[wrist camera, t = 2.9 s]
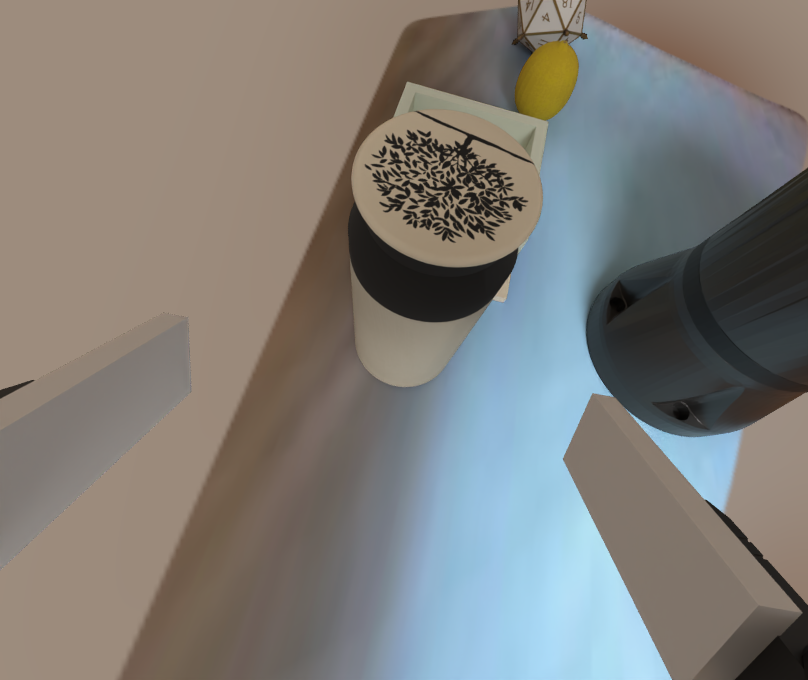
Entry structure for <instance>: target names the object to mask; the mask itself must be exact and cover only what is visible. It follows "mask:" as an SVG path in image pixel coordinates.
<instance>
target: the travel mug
mask: <svg viewBox="0 0 808 680" xmlns="http://www.w3.org/2000/svg"><path fill="white" fill-rule="evenodd" d="M351 181H352V190H353V196H354V199H355V203H354V204H353V207H352V210H351V213H350V217H349V223H348V236H349V252H350V268H351V283H352V299H353V315H354V330H355V344H356V350H357V353H358V356H359V358H360V360H361V362H362V364H363V365H364V367H365V368H366V369H367V370H368V371H369V372H370V373H371V374H372V375H373V376H374V377H376V378H377V379H379V380H380V381H382V382H384V383H387V384H390V385H393V386H399V387H412V386H418V385H421V384H424V383H426V382H428V381H430V380H432V379H433V378H435V377H436V376H437V375H438V374H440V372H441V371H442V370H443V369H444V368H445V366H446V365H447V363H448V362H449V361H450V359H451V358H452V356H453V355H454V354H455V352H456V351H457V349H458V348H459V346H460V345H461V344H462V342H463V341H464V339H465V338H466V337H467V335H468V334H469V332H470V331H471V329H472V328H473V327H474V325H475V324H476V322H477V321H478V319H479V318H480V317H481V315H482V314H483V312H484V311H485V310H486V308H487V307H488V305H489V304H490V302H491V301H492V300H493V298H494V297H495V295H496V294H497V292H498V291H499V290H500V288H501V287H502V285H503V284H504V283H505V281H506V280H507V278H508V277H509V275H510V274H511V272H512V270H513V268H514V265H515V263H516V259H517V255H518V247H519V246H520V245H522V244H523V243H524V242H525V241H526V239H527V238H528V237H529V236H530V234H531V233H532V231H533V230H534V228H535V226H536V224H537V222H538V220H539V217H540V214H541V209H542V202H543V191H542V184H541V180H540V176H539V174H538V171H537V169H536V167H535V165H534V163H533V161H532V159H531V158H530V156H529V155H528V153H527V152H526V151H525V149H524V148H523V147H522V146H521V145H520V144H519V143H518V142H517V141H516V140H515V139H514V138H513V137H512V136H510V135H509V134H508V133H507V132H505V131H504V130H502V129H501V128H499V127H498V126H496V125H494V124H493V123H491V122H489V121H486V120H484V119H482V118H479V117H477V116H474V115H471V114H468V113H464V112H459V111H453V110H445V109H425V110H418V111H413V112H408V113H405V114H402V115H399V116H396V117H394V118H392V119H390V120H388V121H386V122H385V123H383V124H381V125H380V126H379V127H377V128H376V129H375V130H374V131H373V132H372V133H371V134H369V135H368V137H367V138H366V139H365V140H364V142H363V143H362V145H361V146H360V148H359V150H358V152H357V154H356V157H355V159H354V163H353V168H352V177H351Z"/></svg>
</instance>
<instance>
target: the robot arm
mask: <svg viewBox="0 0 808 680" xmlns="http://www.w3.org/2000/svg"><path fill="white" fill-rule="evenodd" d="M587 339H588V346H589V351H590V354H591V358H592V361H593V363H594V366H595V368H596V370H597V372H598V374H599V376H600V378H601V380H602V381H603V383H604V384H605V386H606V387H607V389H608V390H609V391H610V393H611V394H612V395H613V396H614V397H610V396H604V395H599V394H594V393H592V396H591V398H590V400H589V402H588V405H587V407H586V409H585V411H584V413H583V416H582V418H581V420H580V422H579V424H578V427H577V429H576V431H575V433H574V436H573V438H572V440H571V442H570V444H569V447H568V449H567V451H566V453H565V455H564V458H563V460H564V462H565V464H566V466H567V468H568V470H569V472H570V474H571V476H572V478H573V481H574V483H575V485H576V487H577V489H578V491H579V493H580V495H581V497H582V499H583V501H584V503H585V505H586V507H587V509H588V511H589V513H590V515H591V517H592V519H593V521H594V523H595V525H596V527H597V529H598V531H599V533H600V535H601V537H602V539H603V541H604V543H605V545H606V547H607V549H608V551H609V553H610V555H611V557H612V559H613V561H614V563H615V565H616V567H617V569H618V571H619V573H620V575H621V577H622V579H623V581H624V583H625V585H626V587H627V589H628V591H629V593H630V595H631V597H632V599H633V601H634V604H635V606H636V608H637V610H638V612H639V614H640V616H641V618H642V620H643V622H644V624H645V626H646V628H647V630H648V632H649V634H650V636H651V638H652V640H653V642H654V644H655V646H656V648H657V650H658V652H659V654H660V656H661V658H662V660H663V662H664V664H665V666H666V668H667V670H668V672H669V674H670V676H671V678H672V680H808V605H807V604H806V603H805V602H804V600H803V599H802V598H801V597H800V596H799V595H798V594H797V593H796V592H795V591H794V589H793V588H792V587H791V586H790V585H789V584H788V583H787V582H786V580H785V579H784V578H783V577H782V576H781V575H780V574H779V573H778V572H777V570H776V569H775V568H774V567H773V566H772V565H771V564H770V563H769V562H768V560H765V559H763V555H762V554H761V553H760V551H759V550H758V549H757V548H756V547H755V546H754V545H753V544H752V543H751V542H748V540H747V539H748V538H747V537H746V536H745V535H744V534H743V533H742V531H741V530H740V529H739V528H738V527H737V526H736V525H735V524H734V522H732V520H731V519H730V518H729V517H727V516H726V515H725V514H724V513H722V512H721V511H720V510H719V509H717V508H716V507H715V506H714V505H712V504H711V503H710V502H709V501H707V500H704V499H703V498H702V497H701V495H700V494H699V493H698V492H697V491H696V490H695V489H694V487H693V486H692V485H691V484H690V483H689V482H688V481H687V479H686V478H685V477H684V476H683V475H682V474H681V472H680V471H679V470H678V469H677V468H676V467H675V466H674V464H673V463H672V462H671V461H670V460H669V459H668V458H667V456H666V455H665V454H664V453H663V452H662V451H661V449H660V448H659V447H658V446H657V445H656V444H655V443H654V441H653V440H652V439H651V438H650V437H649V436H648V435H647V433H646V432H645V431H644V430H643V429H642V428H641V426H640V425H639V424H638V423H637V422H636V421H635V420H634V418H633V417H632V416H631V415H630V414H629V413H628V412H627V410H628V411H629V412H630V413H632V414H633V415H634V416H636V417H637V418H638V419H640V420H642V421H643V422H645V423H647V424H648V425H650V426H652V427H654V428H657V429H659V430H661V431H664V432H667V433H670V434H674V435H679V436H686V437H703V436H710V435H718V434H725V433H730V432H734V431H737V430H740V429H743V428H745V427H747V426H749V425H751V424H753V423H755V422H756V421H758V420H760V419H761V418H763V417H765V416H767V415H768V414H770V413H772V412H773V411H775V410H777V409H778V408H780V407H782V406H784V405H785V404H787V403H789V402H790V401H792V400H794V399H795V398H797V397H799V396H801V395H802V394H804V393H806V392H808V168H807V169H806V170H804V171H803V172H801V173H800V174H798V175H797V176H796V177H794V178H793V179H791V180H790V181H789V182H787V183H786V184H784V185H783V186H782V187H780V188H779V189H777V190H776V191H775V192H773V193H772V194H770V195H769V196H768V197H766V198H765V199H763V200H762V201H761V202H759V203H758V204H756V205H755V206H753V207H752V208H751V209H749V210H748V211H746V212H745V213H743V214H742V215H741V216H739V217H738V218H736V219H735V220H733V221H732V222H730V223H729V224H728V225H726V226H725V227H723V228H722V229H720V230H719V231H718V232H716V233H715V234H714V235H712V236H711V237H709V238H708V239H707V240H705V241H704V242H702V243H701V244H699V245H698V246H696V247H694V248H691V249H687V250H684V251H681V252H678V253H675V254H672V255H669V256H666V257H662V258H659V259H656V260H653V261H650V262H647V263H644V264H641V265H638V266H636V267H633V268H631V269H630V270H628V271H626V272H624V273H623V274H622V275H620V276H619V277H618V278H616V279H615V280H614V281H613V282H611V283H610V284H609V285H608V286H607V287H605V288H604V289H603V290H602V291H601V292H600V294H599V295H598V296H597V298H596V299H595V301H594V303H593V305H592V308H591V310H590V314H589V318H588V324H587ZM189 393H191V372H190V350H189V328H188V317H184V316H178V315H173V314H168V313H162V314H160V315H158V316H156V317H154V318H153V319H151V320H149V321H147V322H145V323H143V324H141V325H139V326H138V327H135V328H134V329H132V330H130V331H128V332H126V333H124V334H122V335H120V336H119V337H116V338H115V339H113V340H111V341H109V342H107V343H105V344H103V345H101V346H100V347H98V348H96V349H94V350H92V351H90V352H88V353H86V354H84V355H82V356H81V357H79V358H77V359H75V360H73V361H71V362H69V363H67V364H65V365H63V366H62V367H60V368H58V369H56V370H54V371H52V372H50V373H48V374H46V375H45V376H43V377H41V378H39V379H37V380H31V381H28V382H25V383H21V384H18V385H15V386H12V387H9V388H5V389H2V390H0V570H1V569H2V568H3V567H4V566H5V565H6V564H7V563H8V562H10V561H11V560H12V559H13V558H14V557H15V556H16V555H17V554H18V553H19V552H20V551H21V550H22V549H23V548H25V547H26V546H27V545H28V544H29V543H30V542H31V541H32V540H33V539H34V538H35V537H36V536H37V535H38V534H39V533H40V532H42V531H43V530H44V529H45V528H46V527H47V526H48V525H49V524H50V523H51V522H52V521H53V520H54V519H55V518H57V517H58V516H59V515H60V514H61V513H62V512H63V511H64V510H65V509H66V508H67V507H68V506H70V505H71V504H72V503H73V502H74V501H75V500H76V499H77V498H78V497H79V496H80V495H81V494H82V493H83V492H84V491H85V490H87V489H88V488H89V487H90V486H91V485H92V484H93V483H94V482H95V481H96V480H97V479H98V478H99V477H101V476H102V475H103V474H104V473H105V472H106V471H107V470H108V469H109V468H110V467H111V466H112V465H113V464H114V463H116V462H117V461H118V460H119V459H120V458H121V457H122V456H123V455H124V454H125V453H126V452H127V451H128V450H129V449H131V448H132V447H133V446H134V445H135V444H136V443H137V442H138V441H139V440H140V439H141V438H142V437H143V436H144V435H146V434H147V433H148V432H149V431H150V430H151V429H152V428H153V427H154V426H155V425H156V424H157V423H158V422H159V421H161V419H162V418H164V417H165V416H166V415H167V414H168V413H169V412H170V411H171V410H172V409H173V408H174V407H176V406H177V404H179V403H180V402H181V401H182V400H183V399H184V398H185V397H186V396H187V395H188V394H189ZM624 407H625V408H626V409H627V410H626V409H625V408H624Z"/></svg>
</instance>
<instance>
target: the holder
mask: <svg viewBox="0 0 808 680" xmlns="http://www.w3.org/2000/svg"><path fill="white" fill-rule="evenodd" d="M425 109H445V110H453V111H459V112H464V113H468V114H471V115H474V116H477V117H479V118H482V119H484V120H486V121H489V122H491V123H493V124H494V125H496V126H498V127H499V128H501V129H502V130H504V131H505V132H507V133H508V134H509V135H510V136H512V137H513V138H514V139H515V140H516V141H517V142H518V143H519V144H520V145H521V146H522V147H523V148H524V149H525V151H526V152H527V153H528V155H529V156H530V158H531V159H532V161H533V163H534V165H535V167H536V169H537V171H538V174H540V168H541V163H542V157H543V151H544V145H545V139H546V134H547V128H548V121H544V120H541V119H537V118H534V117H530V116H526V115H523V114H519V113H516V112H512V111H509V110H505V109H502V108H498V107H495V106H491V105H488V104H484V103H481V102H477V101H474V100H470V99H467V98H463V97H460V96H456V95H453V94H449V93H445V92H442V91H438V90H435V89H431V88H428V87H424V86H421V85H417V84H414V83H410V82H407V84H406V86H405V89H404V92H403V94H402V97H401V99H400V102H399V104H398V107H397V109H396V112H395V115H394V117H396V116H399V115H402V114H405V113H408V112H413V111H418V110H425ZM394 117H393V118H394ZM528 238H529V237H528ZM528 238H527V239H526V241H525V242H524V243H523V244H522V245H520V246H519V247H518V254H519V252H520V251H521V249H522V248H523V246H524V245H525V243H526V242H527V240H528ZM510 277H511V274H510V275H509V277H508V278H507V280H506V281H505V283H504V284H503V285H502V287H501V288H500V290H499V291H498V292H497V294H496V295H495V297H494V298H493V300H495V301H499V302H502V303H504V301H505V300H506V299H507V293H508V288H509V282H510Z"/></svg>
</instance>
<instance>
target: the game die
mask: <svg viewBox="0 0 808 680" xmlns="http://www.w3.org/2000/svg"><path fill="white" fill-rule="evenodd" d="M586 1H587V0H518V38H517V39H515V40H513V43H512V45H513V44H514V45H516V44H517V43H518V41H519V42H520V43H522V44H523V45H524V46H525V47H527V48H528V49H529V50H530V51H531V52H534V51H535V50H536V49H537V48H539V47H540V46H542V45H544V44H546V43H548V42H552V41H562V40H565V41H567V42H568V44H569V43H571V42H572V41H574V40H575V39H577V38H578V37H579V36H581V38H582V39H583V40H584V39H588V38H587V34H585V33H582V29H583V22H584V15H585V8H586Z"/></svg>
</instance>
